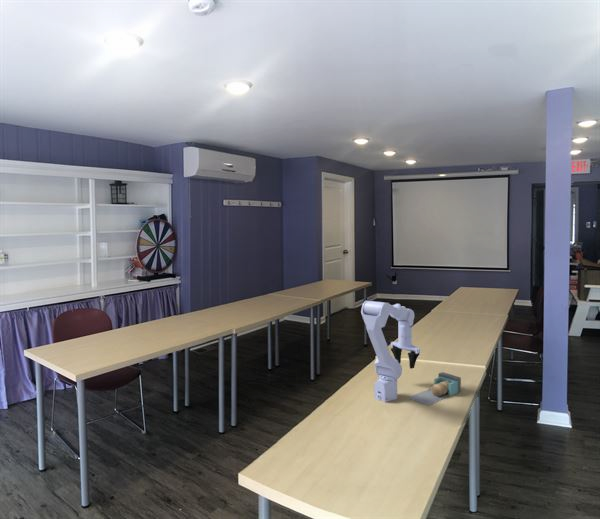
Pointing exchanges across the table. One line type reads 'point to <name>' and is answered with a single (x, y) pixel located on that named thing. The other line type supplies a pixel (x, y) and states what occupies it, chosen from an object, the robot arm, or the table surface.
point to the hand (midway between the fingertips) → (405, 365)
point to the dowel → (440, 388)
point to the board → (427, 393)
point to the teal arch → (452, 385)
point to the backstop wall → (452, 378)
